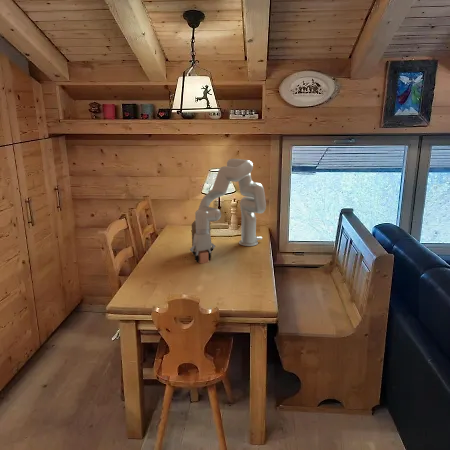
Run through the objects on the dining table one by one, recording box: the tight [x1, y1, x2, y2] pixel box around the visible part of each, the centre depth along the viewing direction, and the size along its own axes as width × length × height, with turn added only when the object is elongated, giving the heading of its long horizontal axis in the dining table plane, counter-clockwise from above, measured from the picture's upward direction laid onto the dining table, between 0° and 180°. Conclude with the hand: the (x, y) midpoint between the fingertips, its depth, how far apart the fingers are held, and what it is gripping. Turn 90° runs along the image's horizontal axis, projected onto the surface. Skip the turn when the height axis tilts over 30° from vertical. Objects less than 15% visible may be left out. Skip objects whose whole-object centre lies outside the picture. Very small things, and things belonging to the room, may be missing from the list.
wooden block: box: [191, 220, 211, 257], centre depth 257 cm, size 10×10×20 cm
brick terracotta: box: [198, 250, 210, 264], centre depth 245 cm, size 5×5×6 cm
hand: (202, 260), depth 246 cm, fingers open, 6 cm apart
